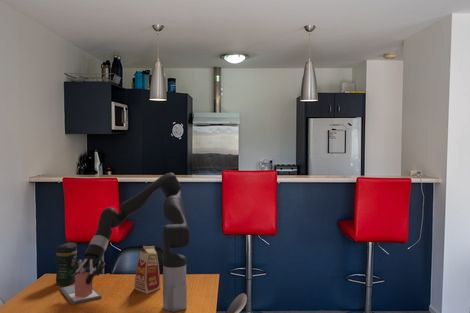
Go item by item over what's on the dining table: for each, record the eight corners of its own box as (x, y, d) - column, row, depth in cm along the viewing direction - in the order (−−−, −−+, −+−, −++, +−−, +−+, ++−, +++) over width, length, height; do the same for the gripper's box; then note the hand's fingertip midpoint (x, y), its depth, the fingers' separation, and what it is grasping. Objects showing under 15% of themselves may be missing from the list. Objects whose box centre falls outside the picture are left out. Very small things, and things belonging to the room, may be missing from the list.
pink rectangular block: (92, 293, 173) (92, 272, 172) (85, 297, 168) (85, 276, 168) (82, 292, 174) (82, 271, 174) (74, 296, 169) (74, 275, 169)
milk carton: (146, 293, 176) (146, 248, 176) (133, 289, 182) (133, 245, 181) (162, 287, 183) (162, 244, 183) (148, 283, 189) (148, 241, 189)
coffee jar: (69, 286, 184) (69, 246, 184) (53, 285, 185) (53, 245, 185) (80, 279, 194) (79, 241, 194) (64, 278, 195) (64, 240, 195)
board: (101, 298, 170) (101, 295, 170) (71, 304, 163) (71, 301, 163) (87, 285, 186) (87, 282, 186) (60, 290, 179) (60, 287, 179)
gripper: (114, 253, 181) (99, 288, 170) (86, 251, 185) (70, 285, 173) (108, 244, 176) (92, 280, 165) (79, 242, 179) (61, 277, 168)
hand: (80, 283), depth 169 cm, fingers open, 5 cm apart
